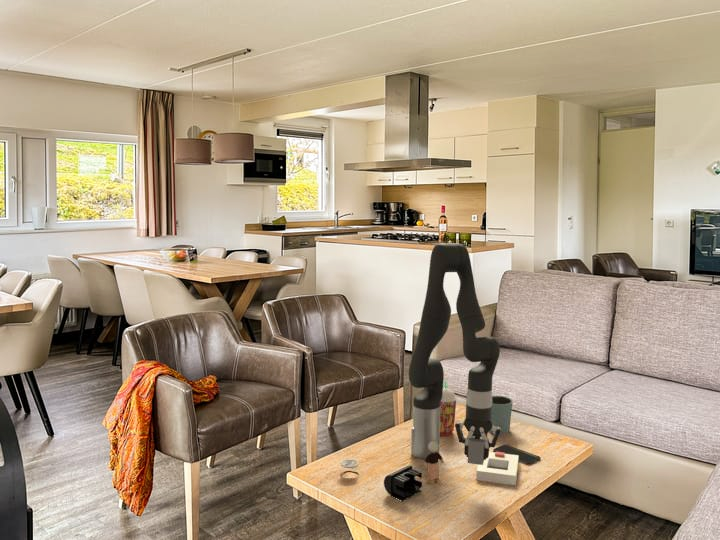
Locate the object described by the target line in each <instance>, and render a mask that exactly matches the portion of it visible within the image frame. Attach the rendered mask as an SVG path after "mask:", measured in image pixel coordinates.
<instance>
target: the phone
mask: <svg viewBox="0 0 720 540" xmlns="http://www.w3.org/2000/svg"><path fill="white" fill-rule="evenodd" d="M492 452H494V453H495V452H504V453H505V454H511V455H519V460H518V463H520V464H523V465H525V466H531V465H533V464H536V463H537V462H540V461H541V456H539V455H536V454H533V453H530V452H528V451H525V450H524V449H523V450H522V449H520V448H517V447H514V446H511V445H509V444H503V445H499V446H497V447H494V448H492Z"/></svg>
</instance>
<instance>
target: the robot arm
mask: <svg viewBox="0 0 720 540" xmlns="http://www.w3.org/2000/svg"><path fill="white" fill-rule="evenodd" d="M430 254H431V255H430V260H429V270H428V271H429V272H428V279H427V288H426V293H425V298H424V299H425V300H424V304H423V308H422V313H421V318H420V324H419V330H418V335H417V339H416V343H415V347H414V350H413V353H412V356H411V360H410V363H409V366H408V367H409V368H408V379H409V381H408V382H409V383H410V385H411V386H412V387H414V388H416V389H422V390H421V391H420V392H418V393H416V394H415V395H414V396H413V399H412V401H413V402H412V406H413V407H412V408H413V411H412V427H411V433H410V436H411V439H410V440H411V441H410V442H411V445H410V451H411V452H410V455H411V456H415V457H417V458H419V459H424V460H425V459H426V457H427V456H428V455H429V454H431V452H430V451H429V449H428V444H429V443H430V442H433V441H434V442H436V443H437V444H438V446H439V448H438V450H437V453H439V454H440V447H441V446H440V444H441V443H440V439H441V438H440V402H441V399H442V394H443V388H444V382H445V381H444V379H445V378H444V377H445V376H444V375H445V373H444V368H443V364H442V363H441V361H440V360H439V359H437V358H433V357H432V358H430V357H431V354H432V352H433V351H434V349H435V348H436V346H437V345H438V344H439V343H440V341H441V340H442V339H443V337H444V336H445V335H446V333H447V331H448V328H449V325H450V320H451V316H452V308H451V303H450V302H449V299H448V297H447V294H446V292H445V289H444V282H445V281H444V279H445V275H446V273H457V276H458V279H459V290H458V294H457V298H456V303H455V304H456V306H455V307H456V313H457V317H458V320H459V323H460V326H461V331H462V333H461V334H462V352H463V355H464V357H465V358H466V360H468V361H469V362H471V363H479V362H480V363H479V364H478V365H476V366H475V367H472V368H471V369H469V370H468V377H467V390H466V391H467V392H466V398H465V399H466V401H465V403H466V404H465V419H464V421H459V420H457V421H456V422H455V423H454V429H455V431H456V435H457V436H456V437H457V440H458V442H459V443H461V444H463V445H464V450H463V451H464V452H463V453H464V455H465V456H466V458H468V442H469V439H471V437H472V436H479V437H482V440H483V441H484V445H485V447H484V460H486V458H488V456H489V452H490V448H496V445H497V442H498V439H499V437H500V435H501V434H500V432H501V427H499V426H498V427H496V426H494V425H493V424H492V422H491V413H492V396H493V391H492V389H493V375H494V373H495V369H496V368H497V363H498V361H499V357H500V354H501V347H500V344H499V341H498V340H497V339H496V338H495V337H494V336H481V337H477V335H476V333H479V332H481V331H483V330H484V329H485V327H486V321H485V318H484V316H483V312H482V310H481V307H480V304H479V300H478V297H477V293H476V286H475V280H474V273H473V269H472V263H471V262H472V261H471V257H470V253H469V250H468V249H467V247H466V245H464V244H462V243H459V242H458V243H457V242H456V243H455V242H454V243H453V242H451V243H448V242H444V243H443V242H442V243H441V242H440V243H437V244H435V245H434V246H433V247H432V250H431V253H430ZM464 427H465V429H466V431H467V432H468V433H467V435H466V437H465V436H464V434H463V428H464ZM491 429H492V430H493V433H492V434H493V438H492V440H491V441H490V439H489V434H488V433H490V432H489V431H490V430H491Z"/></svg>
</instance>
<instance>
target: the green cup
mask: <svg viewBox="0 0 720 540" xmlns="http://www.w3.org/2000/svg"><path fill="white" fill-rule="evenodd" d="M512 409H513V399H512V398H510V397H508V396H507V397H506V396H502V395H492V413H491V422H492V424H493V425H494V426H496V427H498V426H499V427H501V432H500V435H506V434H509V433H510V430H511V419H512V418H511V417H512ZM488 433H491V434H494V433H493V430H492V429H491V430H490V431H489V432H488Z"/></svg>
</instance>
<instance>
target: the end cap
mask: <svg viewBox="0 0 720 540" xmlns="http://www.w3.org/2000/svg"><path fill="white" fill-rule="evenodd" d="M416 477H418V478H419V479H422V478H423V472H421V471H418V470H416V469H414V465H412V464H411V465H410V464H409V465H406V466H404V467H403V468H400V469H398V470H396V471H394V472H392V473H390V474H388V475H386V476H385V477H384V480H383V486H384V489H385V491H386V493H387V494H389V495H391V496H390V497H392V496H393V497H395V498H394V499H396V498H397V499H396V500H398V499H399V500H398V501H400V500H401V502H405V501H406V500H408V499H410V498H412V497H414V496H415V494H416V495H417V493H418V494H419V493H421V492H422V489H421V488H423V482H422V481H421V480H418V479H416ZM411 496H412V497H411ZM393 497H392V498H393ZM407 498H408V499H407ZM404 500H405V501H404Z"/></svg>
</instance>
